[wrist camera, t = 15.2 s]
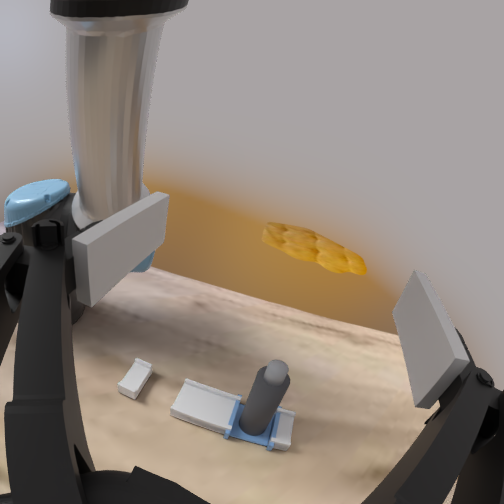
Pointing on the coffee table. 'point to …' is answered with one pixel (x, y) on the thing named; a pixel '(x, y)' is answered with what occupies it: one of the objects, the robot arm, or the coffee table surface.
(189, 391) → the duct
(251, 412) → the cable plug
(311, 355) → the coffee table surface
